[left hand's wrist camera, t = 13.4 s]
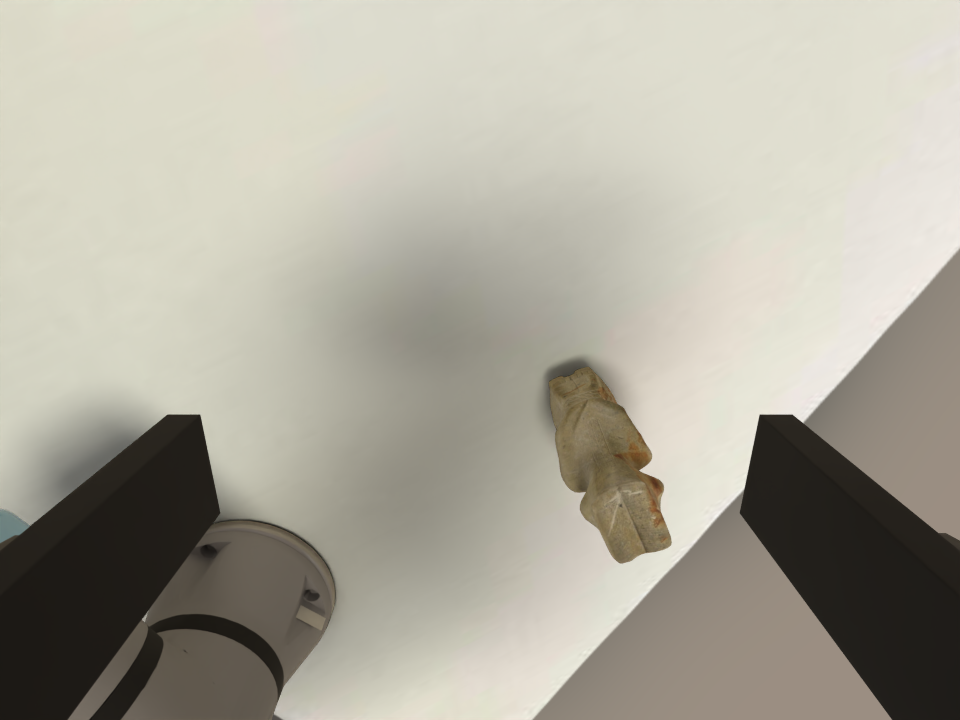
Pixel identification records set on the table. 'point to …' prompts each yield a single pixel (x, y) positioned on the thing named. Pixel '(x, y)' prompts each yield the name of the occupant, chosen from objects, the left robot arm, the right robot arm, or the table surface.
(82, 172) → the table surface
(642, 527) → the sculpture
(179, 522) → the left robot arm
